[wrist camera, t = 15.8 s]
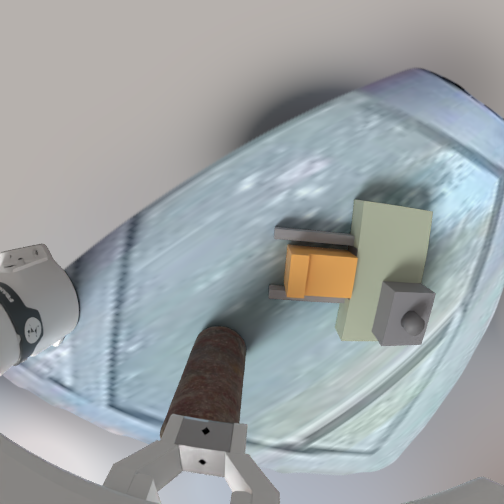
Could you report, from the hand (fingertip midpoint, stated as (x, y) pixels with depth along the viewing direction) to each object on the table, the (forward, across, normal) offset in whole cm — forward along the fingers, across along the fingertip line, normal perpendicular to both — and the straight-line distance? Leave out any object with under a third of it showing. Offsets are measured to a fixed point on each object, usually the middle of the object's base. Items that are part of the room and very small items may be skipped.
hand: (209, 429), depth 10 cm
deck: (+29, -13, 0) cm, 32 cm away
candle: (+29, +3, +13) cm, 32 cm away
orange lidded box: (+29, -9, 0) cm, 31 cm away
